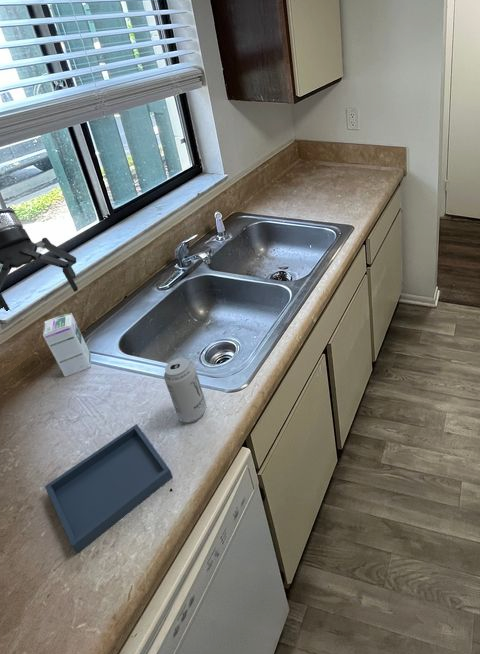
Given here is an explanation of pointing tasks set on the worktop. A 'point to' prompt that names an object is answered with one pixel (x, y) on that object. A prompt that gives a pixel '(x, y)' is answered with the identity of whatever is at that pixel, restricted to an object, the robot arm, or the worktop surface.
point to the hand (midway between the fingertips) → (45, 303)
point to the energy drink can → (185, 389)
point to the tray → (107, 486)
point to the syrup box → (67, 344)
